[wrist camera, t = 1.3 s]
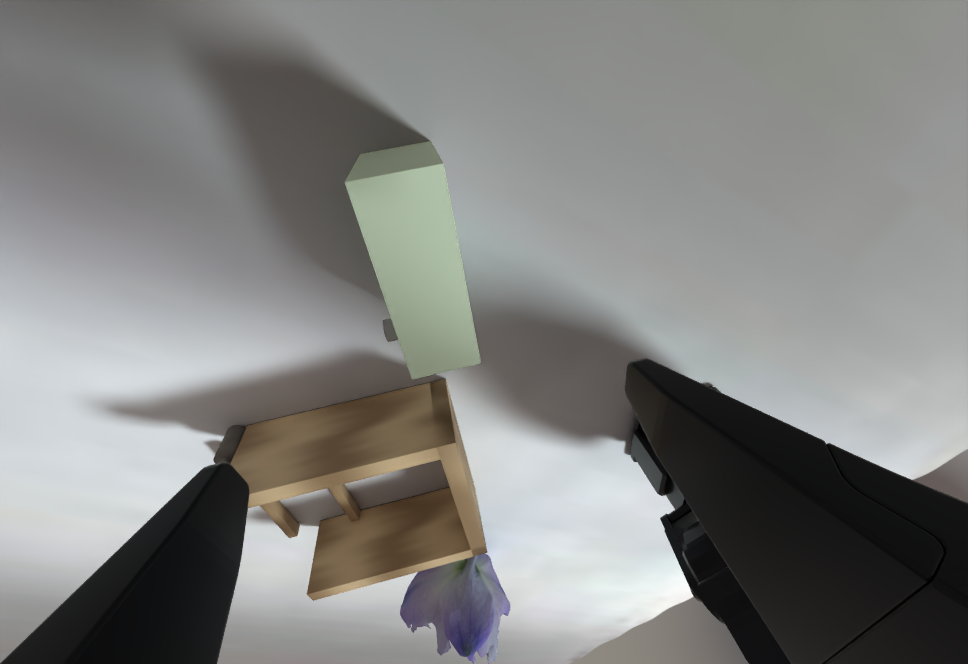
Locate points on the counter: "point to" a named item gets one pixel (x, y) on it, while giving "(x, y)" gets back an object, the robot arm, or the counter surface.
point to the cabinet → (358, 455)
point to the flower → (458, 606)
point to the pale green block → (415, 256)
